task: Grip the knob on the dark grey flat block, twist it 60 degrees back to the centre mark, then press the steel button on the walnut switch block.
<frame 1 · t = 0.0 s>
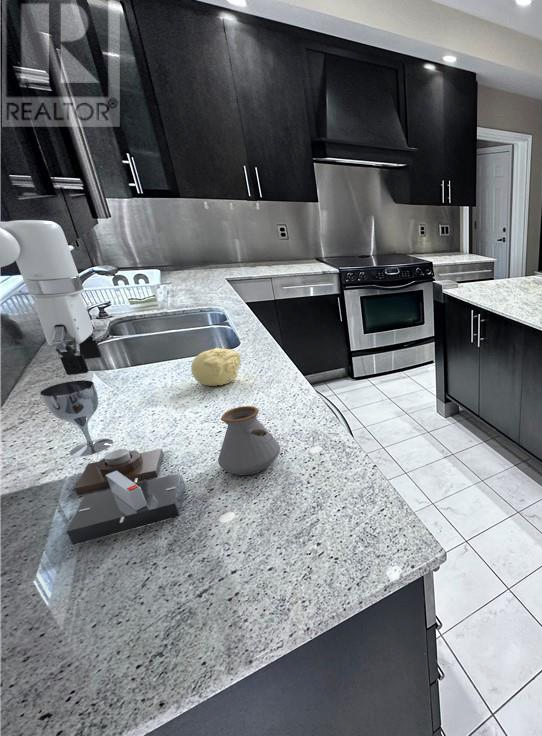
hand: (85, 365, 87), 19 cm above the countertop, tool pointing down, fingers open, 9 cm apart
coffee pot: (260, 475, 86), on the countertop
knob: (125, 489, 72), point 5 cm above the countertop, hinge at -60.0°
pale yellow lumpy ball: (219, 382, 126), on the countertop
button: (117, 457, 82), point 4 cm above the countertop, slide at 0.1 cm
dark grey flat block: (134, 512, 74), on the countertop
wine glass: (92, 448, 92), on the countertop
switch block: (124, 473, 84), on the countertop
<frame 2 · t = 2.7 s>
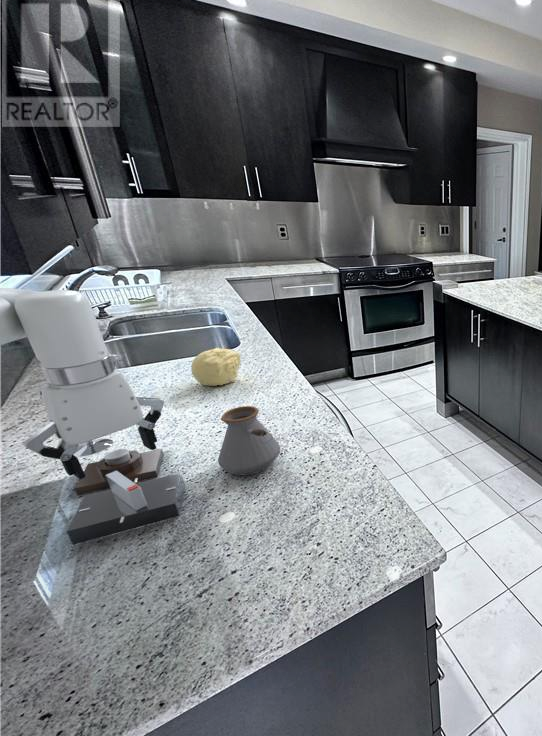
hand: (116, 460, 70), 11 cm above the countertop, tool pointing down, fingers open, 9 cm apart
nothing on the countertop moved.
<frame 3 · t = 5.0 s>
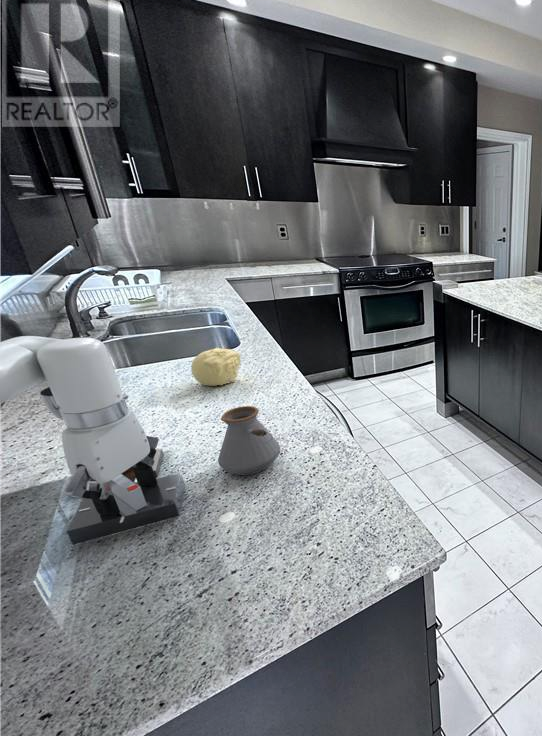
hand: (130, 498, 73), 3 cm above the countertop, tool pointing down, fingers open, 7 cm apart
nothing on the countertop moved.
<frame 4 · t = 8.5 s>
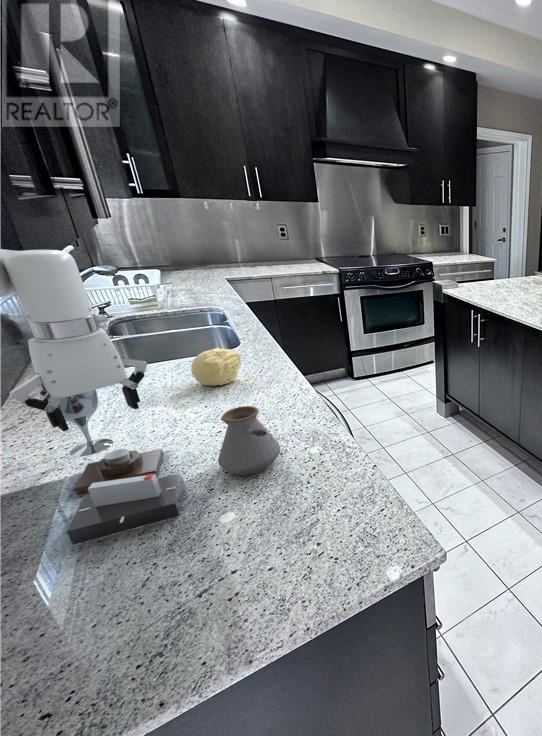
hand: (100, 417, 74), 16 cm above the countertop, tool pointing down, fingers open, 9 cm apart
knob: (125, 489, 72), point 5 cm above the countertop, hinge at -11.2°
everything else where it was.
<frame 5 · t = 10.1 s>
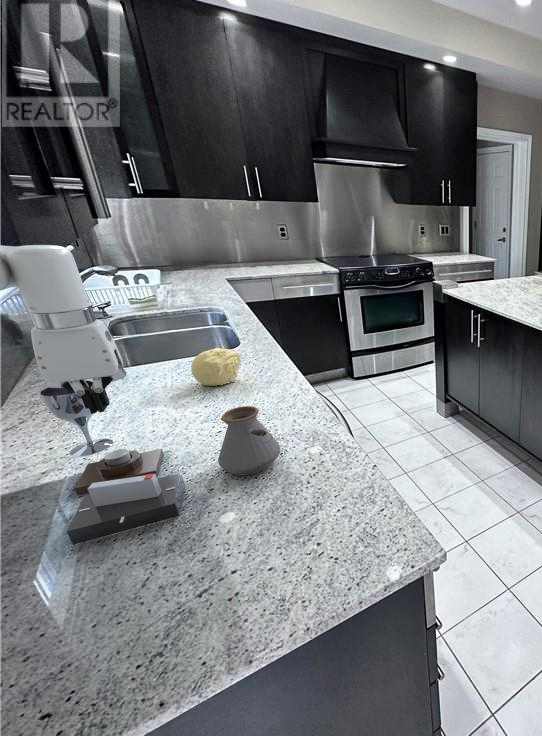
hand: (99, 409, 78), 15 cm above the countertop, tool pointing down, fingers closed
nothing on the countertop moved.
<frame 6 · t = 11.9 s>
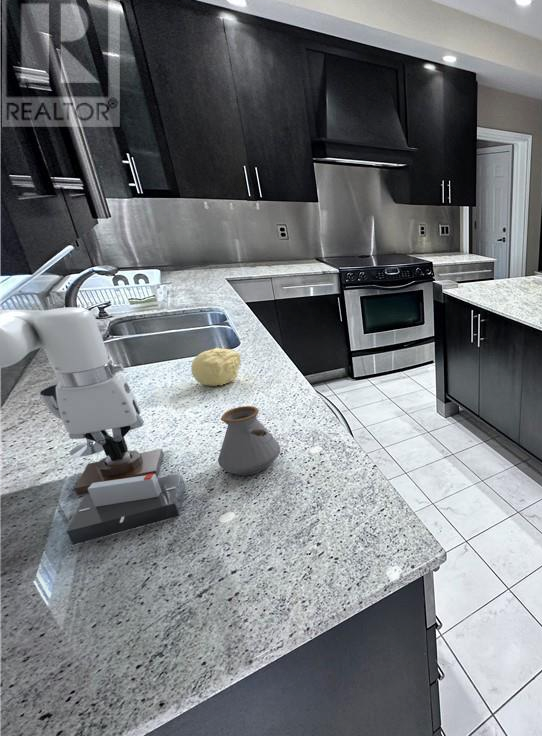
hand: (118, 456, 82), 4 cm above the countertop, tool pointing down, fingers closed
button: (118, 460, 83), point 3 cm above the countertop, slide at -0.5 cm, touching gripper
everything else where it was.
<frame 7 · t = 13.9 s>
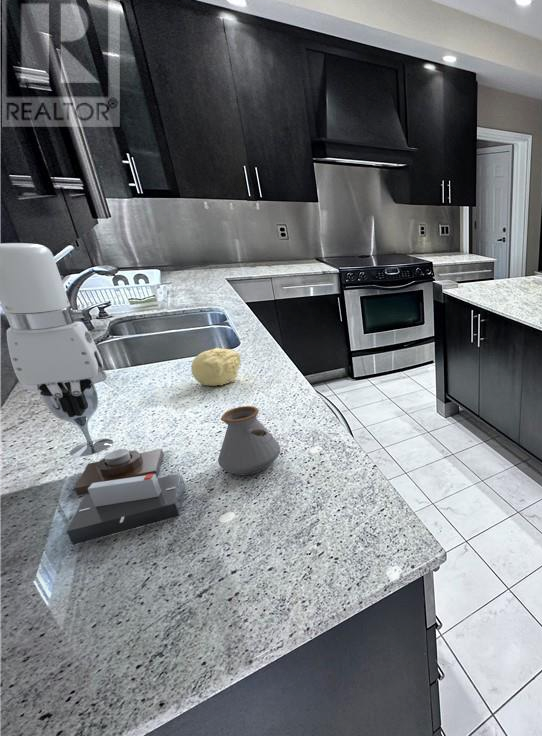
hand: (77, 413, 76), 16 cm above the countertop, tool pointing down, fingers closed
button: (117, 457, 82), point 4 cm above the countertop, slide at 0.1 cm
everything else where it was.
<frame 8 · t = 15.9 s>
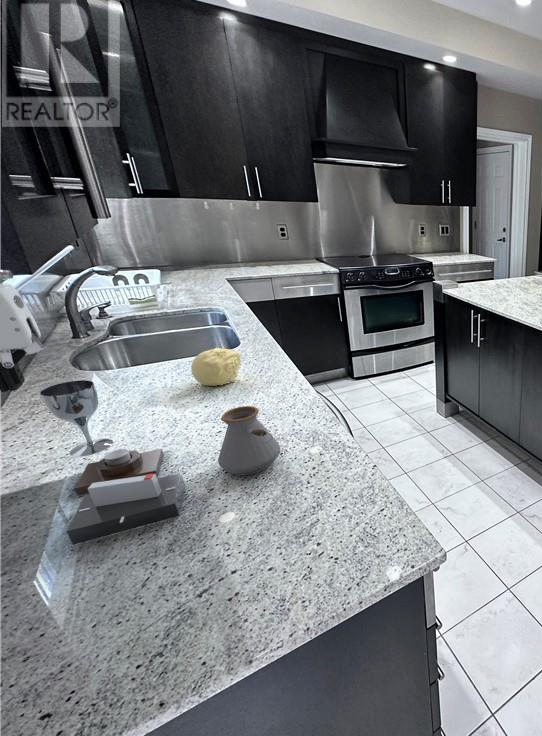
hand: (12, 388, 68), 23 cm above the countertop, tool pointing down, fingers closed
nothing on the countertop moved.
at the end: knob at -11° (first picture: -60°); button pushed in 1.1 cm at the most during the clip, back to where it started at the end; button slide at 0.1 cm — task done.
